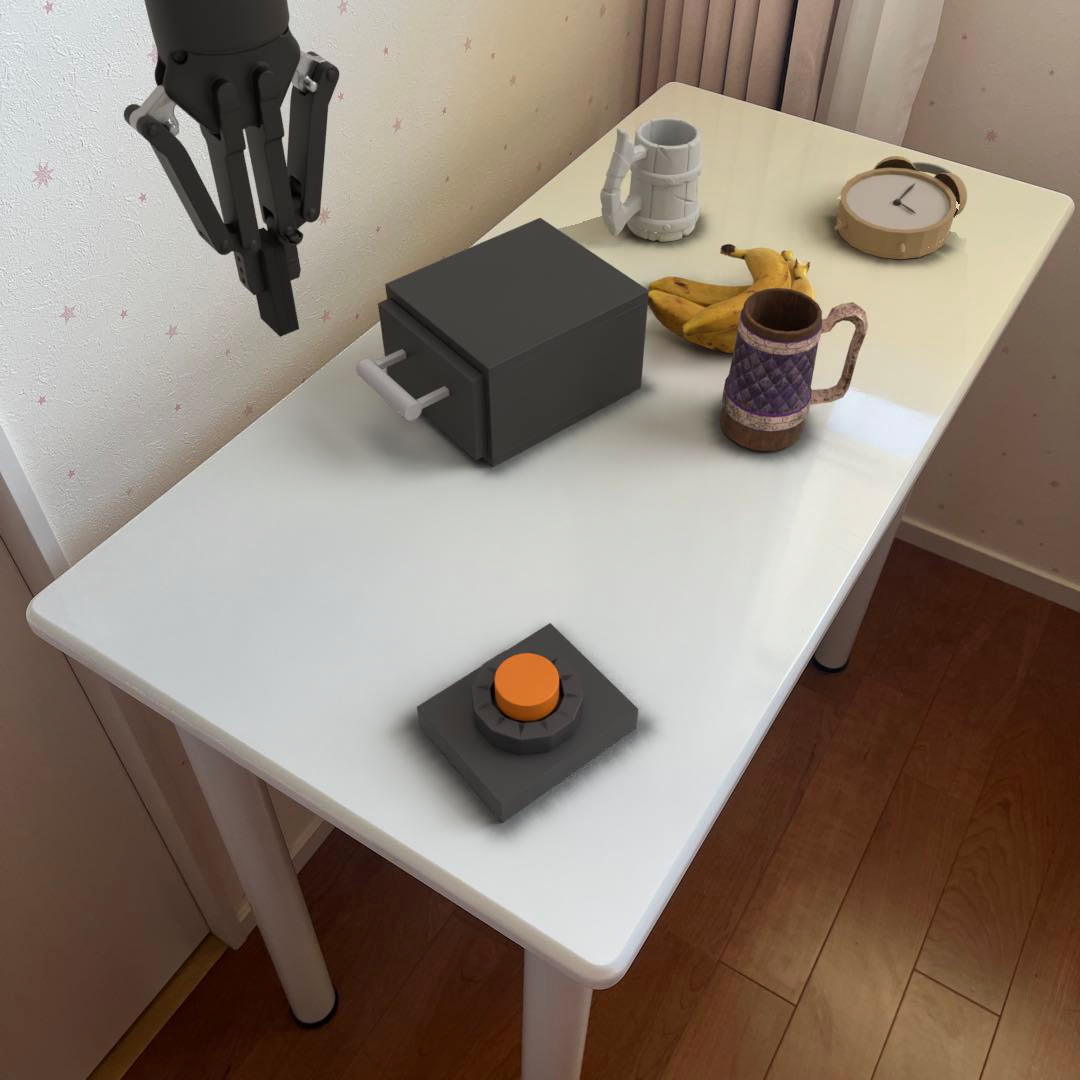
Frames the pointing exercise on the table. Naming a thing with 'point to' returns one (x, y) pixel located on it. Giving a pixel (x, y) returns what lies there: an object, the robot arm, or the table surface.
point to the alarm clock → (900, 208)
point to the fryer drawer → (428, 379)
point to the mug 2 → (781, 367)
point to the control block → (526, 726)
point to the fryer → (533, 329)
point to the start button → (526, 687)
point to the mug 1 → (655, 180)
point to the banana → (723, 297)
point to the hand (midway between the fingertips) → (279, 323)
